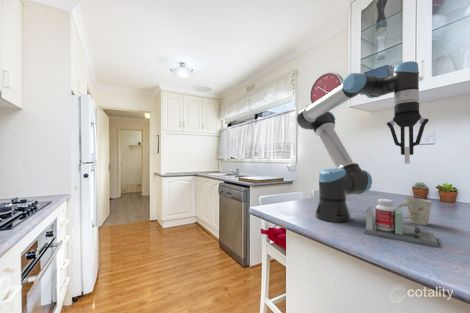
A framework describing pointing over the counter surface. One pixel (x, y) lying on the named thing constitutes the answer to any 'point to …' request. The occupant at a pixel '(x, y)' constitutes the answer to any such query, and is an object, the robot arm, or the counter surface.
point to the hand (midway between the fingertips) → (407, 163)
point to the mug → (417, 210)
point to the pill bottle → (385, 215)
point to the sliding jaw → (400, 227)
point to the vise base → (407, 236)
